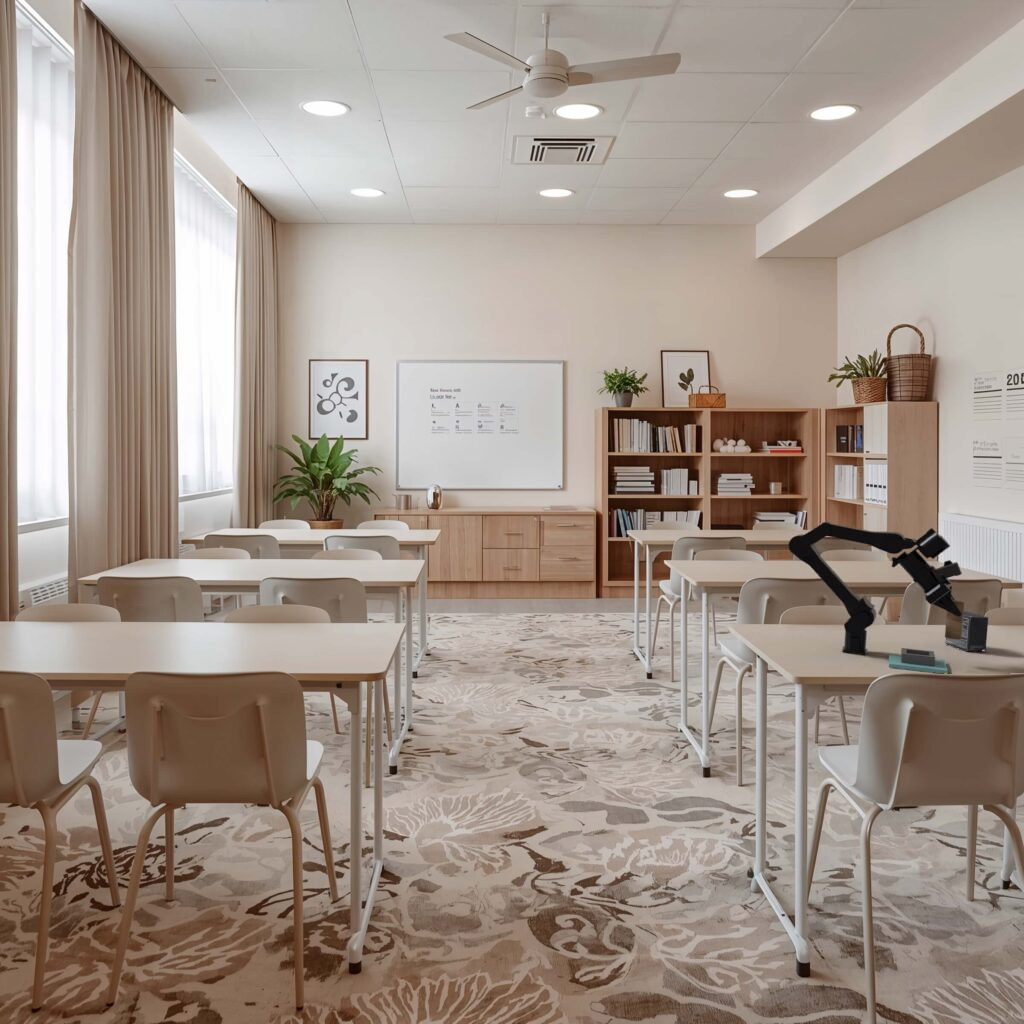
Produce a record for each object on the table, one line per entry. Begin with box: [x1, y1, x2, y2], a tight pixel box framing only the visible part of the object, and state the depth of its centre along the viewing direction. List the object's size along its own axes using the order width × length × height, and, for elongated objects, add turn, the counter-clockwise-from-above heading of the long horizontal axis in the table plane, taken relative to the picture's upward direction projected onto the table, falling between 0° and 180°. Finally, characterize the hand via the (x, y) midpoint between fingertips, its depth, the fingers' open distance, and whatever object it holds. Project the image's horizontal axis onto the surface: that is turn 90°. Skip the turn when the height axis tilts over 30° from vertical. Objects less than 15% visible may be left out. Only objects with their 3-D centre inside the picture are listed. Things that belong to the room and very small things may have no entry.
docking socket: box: [888, 647, 949, 674], centre depth 241 cm, size 14×14×4 cm
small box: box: [944, 610, 989, 652], centre depth 265 cm, size 11×6×10 cm, turn 9°
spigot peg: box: [944, 599, 965, 639], centre depth 243 cm, size 4×4×10 cm
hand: (960, 614), depth 243 cm, fingers closed on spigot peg, 4 cm apart
